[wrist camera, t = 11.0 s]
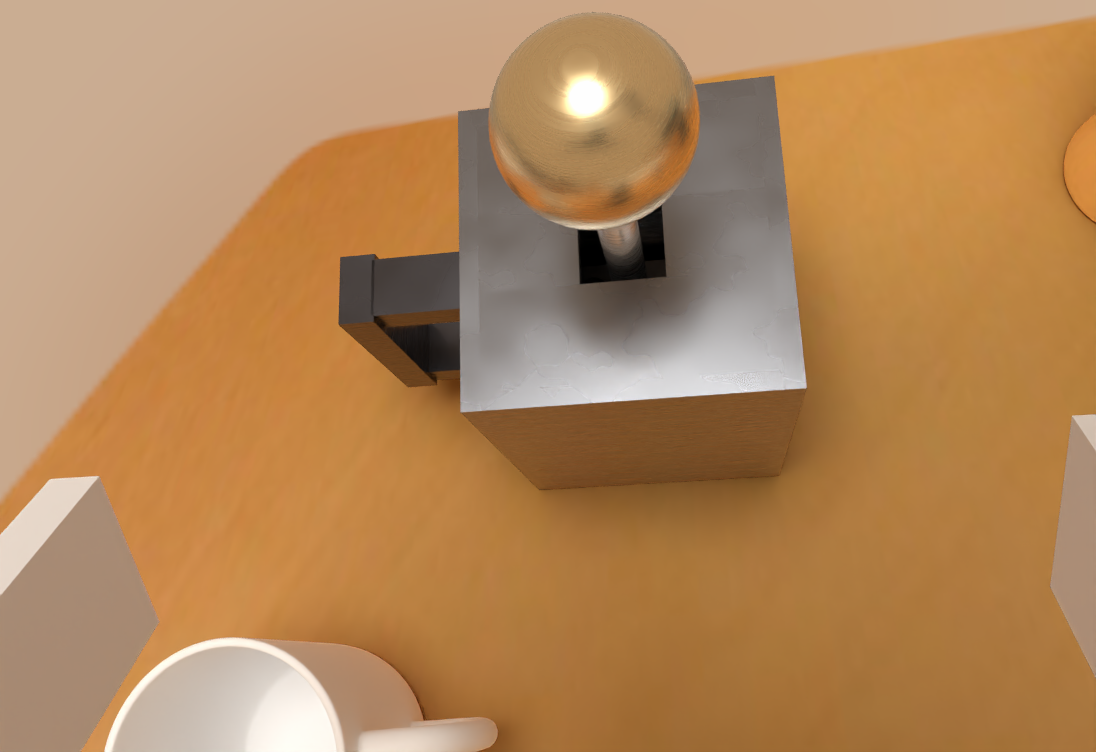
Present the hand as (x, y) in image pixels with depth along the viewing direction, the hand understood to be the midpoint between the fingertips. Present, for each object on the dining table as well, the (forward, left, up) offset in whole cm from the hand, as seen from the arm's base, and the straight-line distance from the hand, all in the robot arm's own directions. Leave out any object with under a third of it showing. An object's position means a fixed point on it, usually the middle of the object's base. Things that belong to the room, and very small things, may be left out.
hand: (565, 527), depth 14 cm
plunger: (0, -11, -27) cm, 29 cm away
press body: (+2, -11, -29) cm, 31 cm away
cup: (+12, +4, -29) cm, 32 cm away
